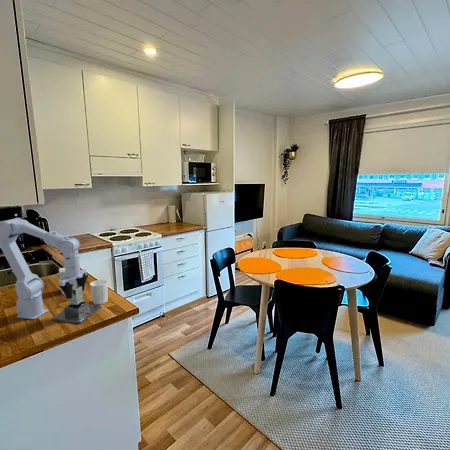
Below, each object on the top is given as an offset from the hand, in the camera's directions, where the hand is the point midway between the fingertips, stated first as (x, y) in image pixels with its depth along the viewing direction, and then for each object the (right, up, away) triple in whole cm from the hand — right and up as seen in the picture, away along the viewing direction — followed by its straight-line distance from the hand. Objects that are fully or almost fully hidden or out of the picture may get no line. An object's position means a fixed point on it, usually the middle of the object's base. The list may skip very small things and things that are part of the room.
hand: (75, 294), depth 121 cm
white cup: (+5, -7, +14) cm, 16 cm away
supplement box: (-18, -5, +26) cm, 32 cm away
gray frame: (0, -9, +2) cm, 9 cm away
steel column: (0, -4, +1) cm, 4 cm away
